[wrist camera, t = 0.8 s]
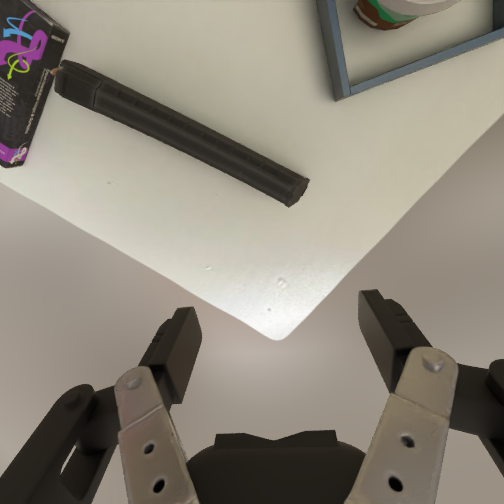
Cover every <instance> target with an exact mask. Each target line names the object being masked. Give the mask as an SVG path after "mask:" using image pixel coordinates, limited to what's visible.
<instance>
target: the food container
mask: <svg viewBox="0 0 504 504" xmlns="http://www.w3.org/2000/svg"><path fill="white" fill-rule="evenodd" d="M459 1H461V0H358V2H357V4H356V6H355V7H354V9H353V10H354V11H355V13H356V14H357V16H358V17H359V19H360V20H362V21H363V22H364V23H366V24H367V25H368V26H370V27H371V28H375V29H379V30H391V29H397V28H400V27H402V26H404V25H406V24H408V23H409V22H411V21H413V20H414V19H416V18H418V17H419V16H422V15H427V14H432V13H436V12H439V11H441V10H444V9H447V8H448V7H450V6H452V5H454V4H456V3H457V2H459Z"/></svg>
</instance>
